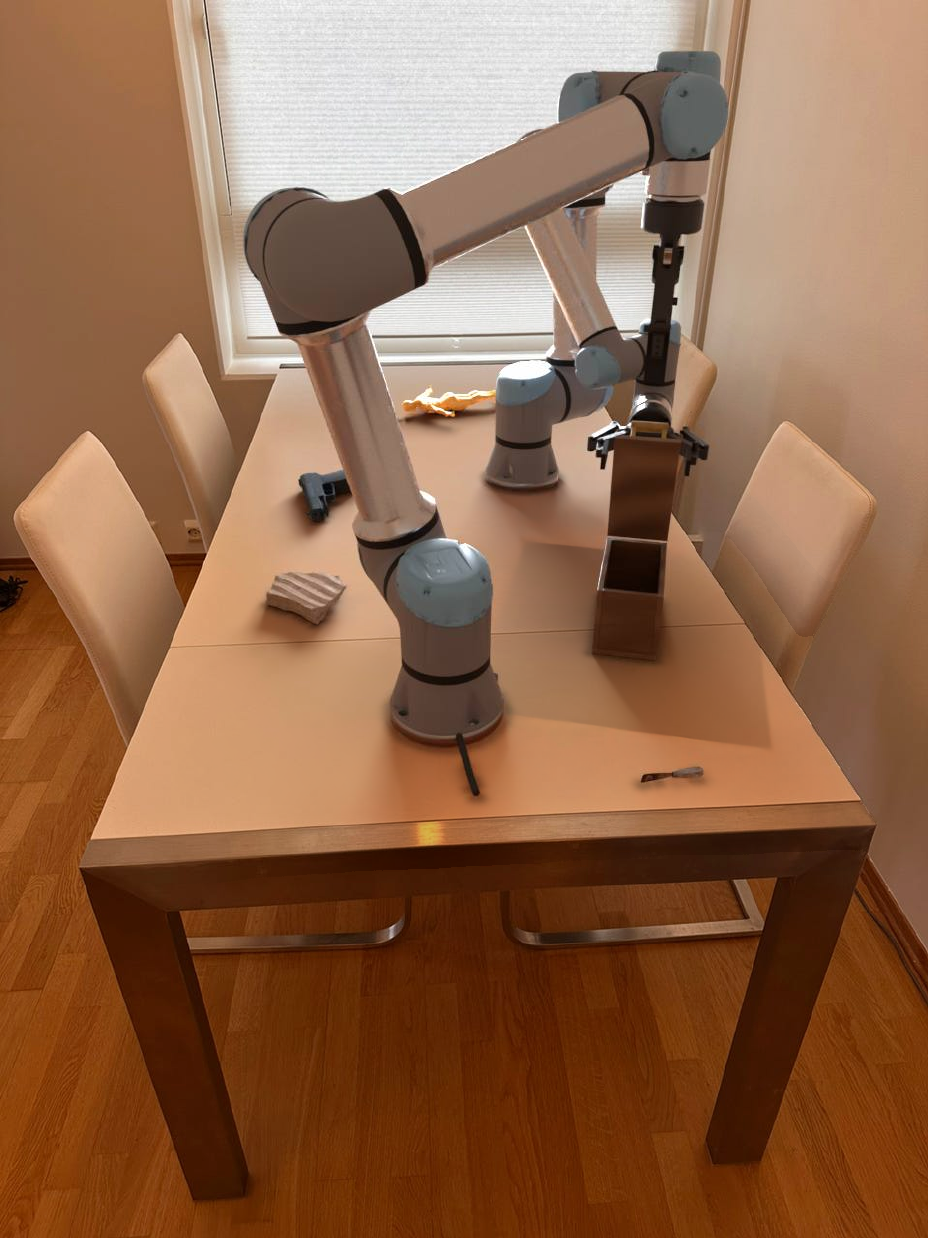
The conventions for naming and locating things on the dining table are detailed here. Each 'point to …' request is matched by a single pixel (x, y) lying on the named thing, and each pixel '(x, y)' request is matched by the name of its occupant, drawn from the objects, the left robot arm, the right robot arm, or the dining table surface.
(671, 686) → the dining table surface
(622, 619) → the chest
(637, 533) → the lid
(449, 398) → the human figure
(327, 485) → the handgun
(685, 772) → the putty knife
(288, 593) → the stone
